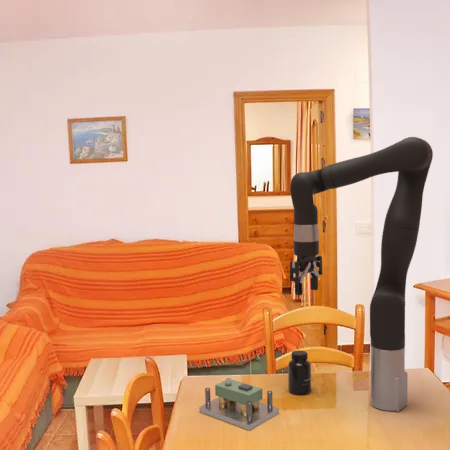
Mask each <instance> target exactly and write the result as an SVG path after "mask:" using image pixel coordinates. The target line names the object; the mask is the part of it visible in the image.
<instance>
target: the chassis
mask: <svg viewBox="0 0 450 450" xmlns="http://www.w3.org/2000/svg"><path fill="white" fill-rule="evenodd" d="M227 379H231V378H228V377H227V378H225V380H227ZM204 393H205V394H204V395H205V398H204V399H205V402H204V403H205V404H202V405H201V406H199V407H198V409H199V413H201V414H204V415H205V416H209V417H212V418H215V419H217V420H220V421H222V422H224V423H227V424H230V425H233V426H236V427H238V428H241V429H244V430H247V431H252V430H253V429H255V428H257V427H258V426H260V425H261V424H263V423H265V422H267V421H268V420H271V419H272V418H273V417H275V416H277V415H278V414H280V412H279V411H280V408H279V407H277V406H273V390H267V392H266V398H267V399H266V400H267V403H264V402H261V401H258V402H256V403H254V404H252V402H250V401H248V402H247V405H244V404H240V403H237V402H234V401H231V400H228V399H225V398H222V397H219V396H218V397H216V398H215V399H212V400H211V388H210V387H206V388H204Z"/></svg>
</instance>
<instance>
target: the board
mask: <svg viewBox="0 0 450 450" xmlns="http://www.w3.org/2000/svg"><path fill="white" fill-rule="evenodd" d="M226 379H227V378H226ZM226 379H225V380H223V381H220V382H219V383H217V384H215V385H214V386H215V387H214V390H215V391H214V392H215V393H214V394H215V396H217V397H218V398H219V397H222V398H225V399H228V400H231V401H234V402H237V403H240V404H244V405H247V402H248V401H250V402H252V404H254V403H256V402H258V401H259V402H261V400H263V387H259V386H256V385H252V384H250V383H249V384H248V383H246V382H242V381H240V380H239V381H238V380H235V379H231V378H230V379H227V380H226Z"/></svg>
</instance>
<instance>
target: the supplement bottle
mask: <svg viewBox="0 0 450 450" xmlns="http://www.w3.org/2000/svg"><path fill="white" fill-rule="evenodd" d="M308 357H309V355H308V352H307V351H305V350H294V351H291V357H290V358H291V360H289V362H288V364H287V365H288V367H287V369H288V371H287V373H288V377H287V379H288V382H287V383H288V385H287V386H288V391H289V392H290V393H291V394H293V395H297V396H299V395H300V396H303V395H308V394H310V392H311V391H312V365H311V362H310V361H309V360H308V359H309V358H308Z"/></svg>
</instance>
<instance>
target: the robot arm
mask: <svg viewBox="0 0 450 450" xmlns="http://www.w3.org/2000/svg"><path fill="white" fill-rule="evenodd" d="M433 154H434V151H433V148H432V146H431V144H430V143H429V142H428V141H426V140H425V139H422V138H421V137H416V136H409V137H405V138H403V139H402V140H399V141H397V142H395V143H393V144H391V145H389V146H387V147H385V148H382V149H380V150H378V151H374V152H371V153H368V154H366V155H362V156H357V157H354V158H350V159H346V160H342V161H339V162H335V163H332V164H329V165H328V164H327V166H324V167H322V168H319V169H316V170H311V171H305V172H303V171H302V172H301V171H300V172H298V173H296V174H294V175H293V176H292V178H291V181H290V186H289V188H290V189H289V192H290V197H291V201H292V206H293V234H292V235H293V255H295V256H296V260H290V262H289V281H290V282H293V283H294V294H295V296H302V295H303V291H304V289H303V288H304V287H303V285H304V284H303V281H304V278H305V277H306V276H307V274H309V276H310V290H312V291H318V289H319V278H320V276H322V275H323V257H322V255H319V253H320V235H319V234H320V233H319V232H320V231H319V219H318V218H319V215H318V214H319V213H318V207H317V205H316V204H314V203H315V202H314V195H317V194H319V193H323V192H326V191H329V190H333V189H339V188H343V187H346V186H349V185H353V184H357V183H359V182H362V181H364V180H367V179H370V178H372V177H375V176H379V175H383V174H384V175H385V174H388V173H389V174H390V173H397V181H396V186H395V187H396V188H395V191H394V194H393V196H392V199H391V201H390V203H389V206H388V209H387V212H386V215H385V218H384V223H383V229H382V235H381V243H380V245H381V246H380V271H379V276H378V279H377V283H376V285H375V289H374V293H373V295H372V297H371V301H370V306H369V334H370V335H369V337H370V404H371V405H372V406H373V408H375V409H378V410H382V411H387V412H391V411H392V412H398V413H399V412H400V411H401V410H403V409H404V408H405V407H406V406H408V372H407V371H405V370H406V369H405V367H406V363H405V358H406V354H405V353H406V348H405V347H406V285H407V276H408V271H409V269H410V264H411V262H412V259H413V257H414V253H415V250H416V247H417V242H418V237H419V236H418V235H419V230H420V224H421V216H422V215H421V214H422V208H423V197H424V190H425V185H426V182H427V178H428V174H429V172H430V168H431V164H432V160H433V156H434V155H433Z"/></svg>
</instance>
